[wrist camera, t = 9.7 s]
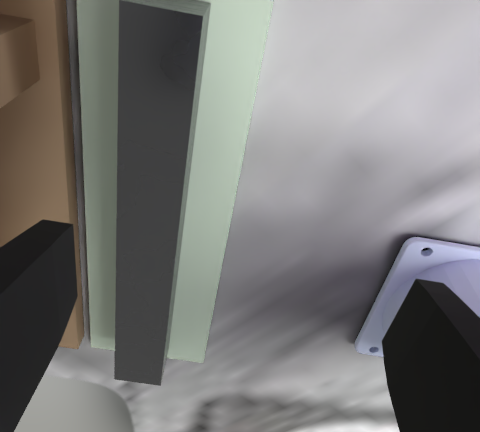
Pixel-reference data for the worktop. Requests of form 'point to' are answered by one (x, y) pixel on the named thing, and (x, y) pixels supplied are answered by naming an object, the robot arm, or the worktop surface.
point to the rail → (153, 171)
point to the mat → (202, 167)
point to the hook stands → (37, 129)
